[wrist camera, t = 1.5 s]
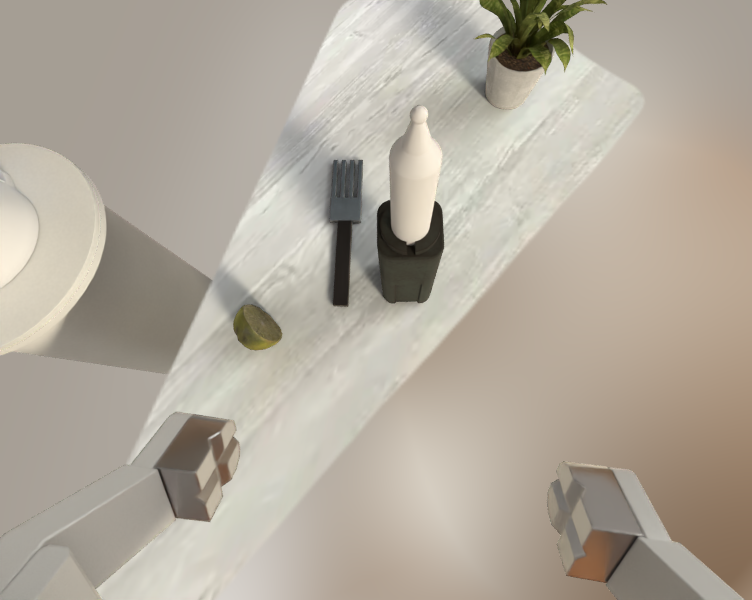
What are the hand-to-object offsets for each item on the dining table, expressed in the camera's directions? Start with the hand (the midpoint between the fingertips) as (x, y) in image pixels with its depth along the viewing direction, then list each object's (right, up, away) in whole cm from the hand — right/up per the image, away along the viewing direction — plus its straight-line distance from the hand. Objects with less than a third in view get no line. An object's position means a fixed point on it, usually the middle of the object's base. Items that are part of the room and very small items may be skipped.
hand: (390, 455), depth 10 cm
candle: (+3, +6, +32) cm, 33 cm away
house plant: (+15, +30, +38) cm, 51 cm away
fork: (-4, +12, +34) cm, 36 cm away
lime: (-12, 0, +31) cm, 34 cm away
